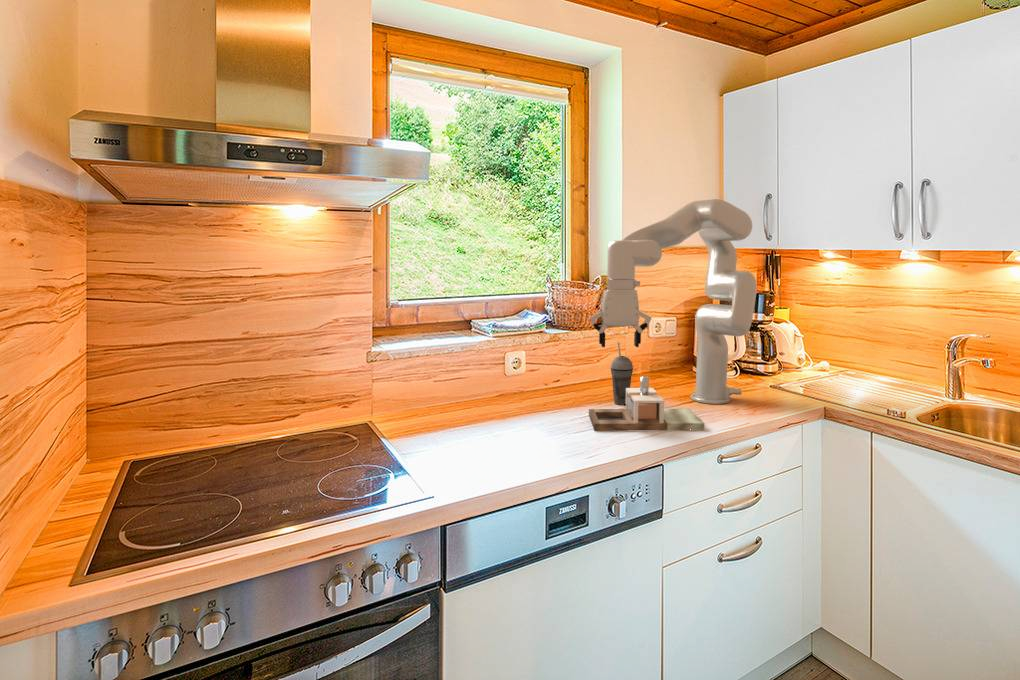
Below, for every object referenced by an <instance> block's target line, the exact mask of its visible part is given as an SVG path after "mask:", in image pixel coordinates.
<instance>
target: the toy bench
mask: <svg viewBox="0 0 1020 680" xmlns="http://www.w3.org/2000/svg"><path fill="white" fill-rule="evenodd" d="M628 397H631V398H632V400H633V401H634V423H638V403H660V405H659V423H664V409H665V400H664V398H663V397H662V396H661V395H660V394H659V395H658V392H657V391H656V390H655V389H654V387H649V395H640V387H630V388H626V405H625V409H626V410H627V401H628Z"/></svg>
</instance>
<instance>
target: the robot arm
mask: <svg viewBox="0 0 1020 680" xmlns="http://www.w3.org/2000/svg"><path fill="white" fill-rule="evenodd" d="M752 230H753V221H752V218H751V217H750V215H749V214H748V213H747V212H746V211H744V210H742V209H740V208H739V207H738V206H735V205H733V204H732V203H729V202H728V201H725V200H723V199H720V198H715V199H703V200H695V201H692V202H689V203H687V204H685V205H684V206H681V208H679V209H678V210H676V211H675V212H673V213H672V214H671V215H669V216H668V217H666V218H664V219H663V220H659V221H657V222H654V223H651V224H650V225H647V226H644V227H642V228H640V229H638V230H635V231H633V232H631V233H630V234H628V235H627V236H625V237H624V238H622V239H621V240H612V241H610V242H609V243H608V245H607V269H606V270H607V276H606V277H607V279H606V285H607V286H606V290H603V295H602V300H601V301H602V303H601V311H598V312H596V313H595V314H593V315H591V316H590V317H589V318H588V319H589V321H590V323H591V324H592V326H593V328H595V330H596V331H597V332H598V333H599V335H598V337H599V338H598V343H599V345H601V347H602V348H605V347H606V333H605V331H606V329H608V327H633V328H634V329H635V332H634V339H633V342H634V343H633V346H635V348H639V346H640V345H641V343H642V333H643V331H645V329H646V328H648V326H649V324H650V322H651V320H652V317H651V316H650V315H648V314H647V313H644V312H642V311H641V310H640V305H639V296H638V294H639V293H638V291H637V290H636V287H640V285H641V281H640V280H637V279H635V278H636V267H642V268H645V267H646V268H647V267H648V268H649V267H652V266H655V265H656V264H658V263H659V262H660V261H661V259H662V257H663V249H667V248H672V247H674V246H679V245H680V244H682V243H683V242H685V240H687V239H689V238H690V237H691V236H693V235H694V234H695V233H697V232H698V235H699V237H700V238H701V239H702V241H703V243H704V244H705V246H706V248H707V251H708V264H707V271H706V277H705V283H704V293H705V296H706V297H708V298H709V299H710V300H711V299H712V300H717V301H726V302H727V301H728V302H732V303H731V304H729V305H728V304H720V303H706V304H704V305H703V304H702V306H699V308H698V309H697V311H696V312H695V315H694V323H695V328H696V339H697V343H696V344H697V345H696V369H695V370H696V372H695V373H696V374H695V375H696V377H695V392H692V393H691V394H690V399H691V400H692V401H694V402H697V403H701V404H702V403H703V404H710V405H721V404H727V403H730V402H731V401H732V397H731V396H732V395H736V396H737V395H742V393H743V391H742V389H741V388H735V387H729V386H728V385H727V382H728V381H727V380H728V379H727V378H728V361H729V358H728V357H729V345H728V341H727V339H726V337H725V336H728V337H729V336H730V337H743V336H745V335H746V334H747V333H748V332H749V331H750V329H751V326H752V321H753V319H754V317H753V316H754V310H755V305H756V300H757V299H756V297H757V292H758V291H757V290H758V287H757V286H758V283H757V280H756V278H755V276H754V274H752V272H750V271H746V270H737V262H738V254H737V250H736V248H735V246H734V245H733V243H732V242H733V241H734V242H735V241H743V240H745V239H747V238H748V237H749V236H750V235H751V233H752ZM731 241H732V242H731ZM640 317H641V318H642V319H644V321H643V322H642V324H640V325H639V323H640ZM599 318H600V321H601V325H599V324H598V323H597V321H596V320H598V319H599Z"/></svg>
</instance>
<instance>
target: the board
mask: <svg viewBox="0 0 1020 680" xmlns="http://www.w3.org/2000/svg"><path fill="white" fill-rule="evenodd" d="M588 417H589V419H590V423H591V426H592V429H593V430H594V431H598V432H599V431H600V432H601V431H602V432H603V431H604V432H606V431H607V432H609V431H610V432H613V431H616V432H617V431H619V432H621V431H622V432H623V431H627V432H628V430H659V431H705V422H703V420H701V418H699V417H698V415H696V414H695V412H693V411H692V410H691V409H690V408H664V423H659V418H658V417H657V415H656V419H638V423H634V419H632V418H631V417H630V415H629V413H628V412H627V410H626V408H588ZM690 429H691V430H690Z"/></svg>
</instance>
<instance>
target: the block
mask: <svg viewBox="0 0 1020 680" xmlns="http://www.w3.org/2000/svg"><path fill="white" fill-rule="evenodd" d="M633 402H634V401H633ZM656 414H657V405H656V403H638V419H656Z"/></svg>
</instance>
